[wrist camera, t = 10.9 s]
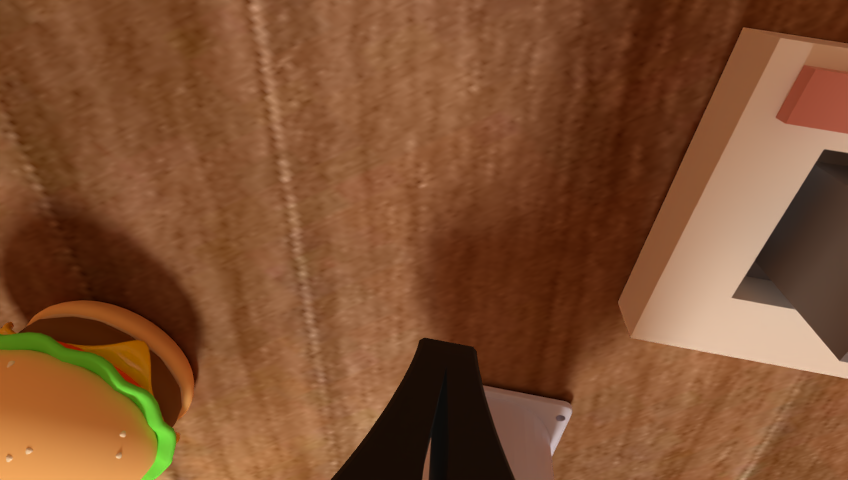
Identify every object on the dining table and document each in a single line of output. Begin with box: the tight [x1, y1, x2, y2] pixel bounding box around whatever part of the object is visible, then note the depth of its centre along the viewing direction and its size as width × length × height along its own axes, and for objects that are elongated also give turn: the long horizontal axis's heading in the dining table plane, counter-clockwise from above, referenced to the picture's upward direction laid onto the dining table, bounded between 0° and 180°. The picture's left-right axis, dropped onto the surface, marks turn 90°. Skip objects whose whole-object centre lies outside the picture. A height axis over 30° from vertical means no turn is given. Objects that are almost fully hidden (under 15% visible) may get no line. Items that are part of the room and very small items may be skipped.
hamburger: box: [0, 300, 194, 480], centre depth 25 cm, size 12×12×9 cm
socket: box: [618, 27, 848, 378], centre depth 17 cm, size 12×12×3 cm
